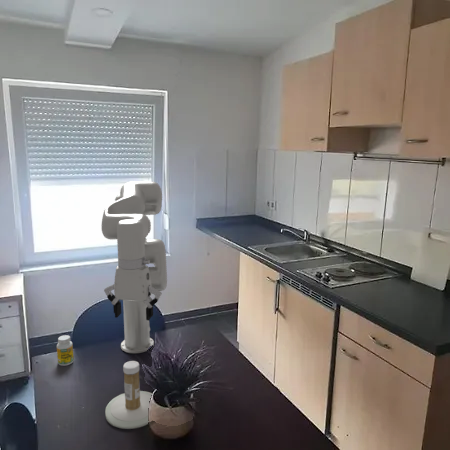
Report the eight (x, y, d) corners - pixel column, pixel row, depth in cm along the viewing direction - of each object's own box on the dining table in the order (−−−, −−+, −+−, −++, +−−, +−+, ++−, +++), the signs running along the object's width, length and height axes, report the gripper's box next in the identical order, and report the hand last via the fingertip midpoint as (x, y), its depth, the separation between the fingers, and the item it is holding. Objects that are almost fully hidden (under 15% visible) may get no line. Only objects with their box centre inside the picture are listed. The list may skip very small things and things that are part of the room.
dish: (118, 392, 130) (118, 388, 129) (167, 397, 127) (167, 393, 127) (95, 425, 114) (95, 421, 114) (150, 431, 112) (150, 427, 112)
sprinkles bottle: (143, 407, 120) (141, 365, 117) (128, 412, 118) (126, 370, 115) (137, 399, 124) (135, 358, 121) (122, 404, 121) (120, 362, 119)
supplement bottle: (71, 357, 151) (69, 332, 149) (75, 363, 146) (74, 338, 145) (56, 361, 148) (54, 336, 146) (60, 367, 143) (58, 342, 142)
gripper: (164, 260, 120) (165, 314, 124) (108, 256, 122) (111, 309, 126) (156, 268, 113) (157, 325, 117) (97, 264, 115) (100, 320, 119)
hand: (133, 316), depth 121 cm, fingers open, 9 cm apart
